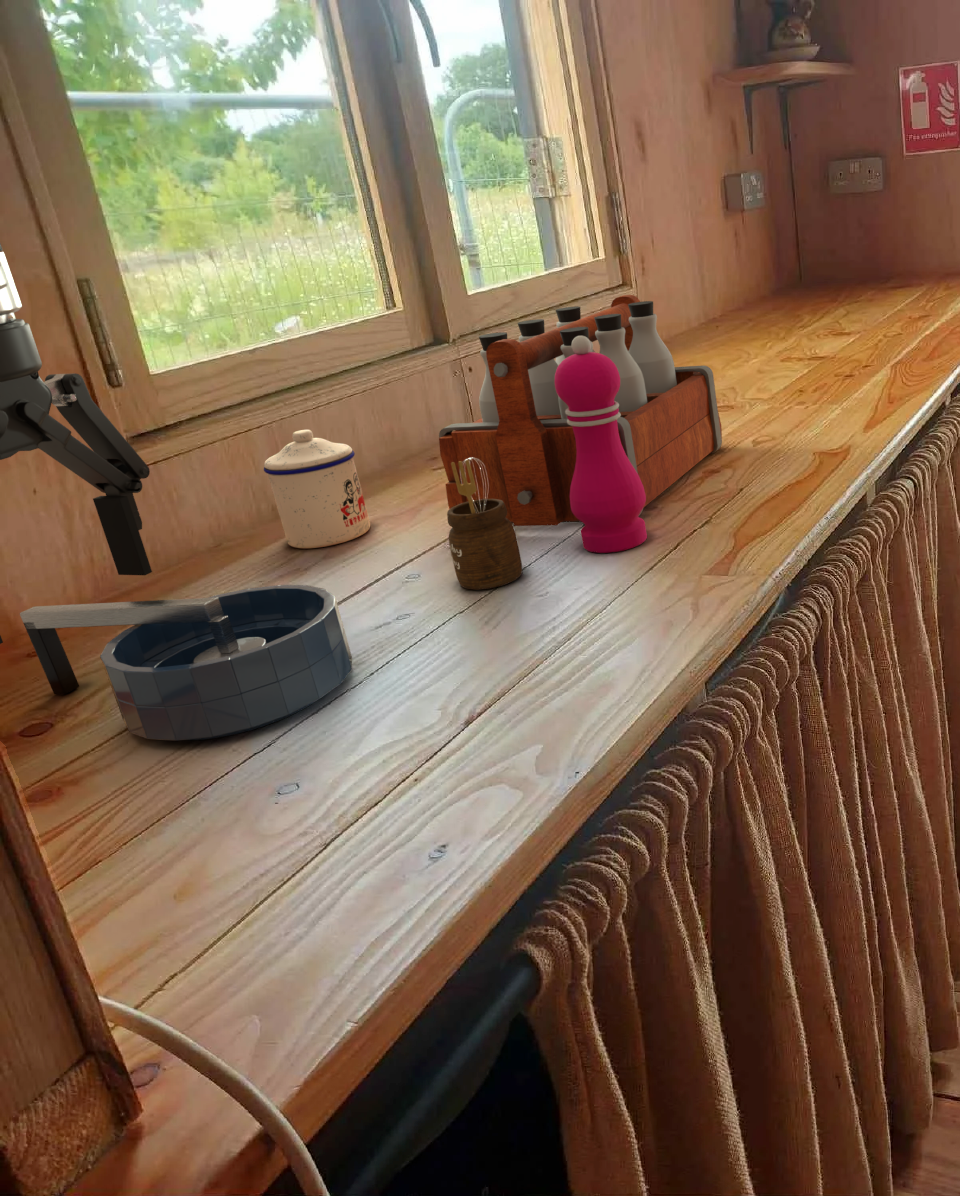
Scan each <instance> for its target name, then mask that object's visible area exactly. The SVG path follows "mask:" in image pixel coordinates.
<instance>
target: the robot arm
mask: <svg viewBox="0 0 960 1196" xmlns="http://www.w3.org/2000/svg"><path fill="white" fill-rule="evenodd" d="M22 307H23V305H22V301H21V298H20V296H19V292H18V290H17V287H16V283H15V281H14V278H13V275H12V271H11V269H10V265H9V264H8V259H7V258H6V254H5V251H3V247H2V245H1V243H0V461H3V460H4V459H9V458H12V457H13V456H14V455H16V454H17V453H19V452H31V451H34V450H37V449H39V450H40V451H42V452H43V453H45V454H46V455H48V456H49V457H50V458H52V459H53V460H55V461H56V462H58V463H59V464H61V465H62V466H63V467H65V468H66V469H68V470H69V471H70V472H72V473H73V474H75V475H76V476H78V477H79V478H81V479H82V480H84V481H85V482H86V483H88V484H89V485H90V486H92V487H94V488H95V489H96V490H98V491H99V492H101V493H103V494H105V495H99V496H96V497H94V498H92V501H93V503H94V507H95V509H96V513H97V515H98V518H99V522H100V524H101V527H102V530H103V533H104V536H105V539H106V542H107V545H108V548H109V551H110V554H111V557H112V560H113V563H114V565H115V568H116V573H117V574H118V576H147V575H150V574H152V573H153V570H152V567H151V564H150V561H149V558H148V555H147V552H146V549H145V545H144V543H143V540H142V537H141V534H140V531H141V530H143V521H142V518H141V515H140V512H139V508H138V505H137V503H136V498H135V496H134V494H138V493H141V491H142V489H143V482H142V480H143V479H147V478H148V477H149V476H150V472H151V470H150V467H149V465H147V463H146V462H145V461H144V460H143V458H142V457H141V456H140V455H139V453H137V451H136V450H135V449H134V447H132V446H131V444H130V443H129V442H128V441H127V439H126V438H125V437H124V436H123V434H122V433H121V432H120V431H119V430H118V429H117V428H116V426H115V425H114V424H113V423H112V421H111V420H110V419H109V418H108V417H107V416H106V414H105V413H104V412H103V411H102V410H101V409H100V407H99V406H98V404H96V403H95V401H94V400H93V399H92V396H91V394H90V392H89V389H88V387H87V385H86V383H85V380H84V378H83V377H82V375H81V374H80V373H77V372H76V373H74V372H73V373H51V374H47V375H46V376H45V378H44V381H43V380H42V378H41V377H40V375H39V371H40V370H41V369H42V368H43V367H42V366H43V362H42V359H41V356H40V353H39V351H38V348H37V345H36V341H35V338H34V336H33V333H32V329H31V326H30V324H29V322H25V320H24V319H23V318H16V315H15V313H16V312H19V311H20V310H21V308H22ZM52 405H53V406H54V407H56V409H57V411H58V412H59V413H60V415H61V416H62V417H63V418H64V419H65V420H66V422H67V423H68V424H69V425H70V426H71V427H72V428H73V430H74V431H75V432H76V433H77V434H78V435H79V436H80V438H81V439H82V440H83V441H84V442H85V443H86V444H87V445H86V444H85V443H83V442H81V441H80V440H79V439H77V438H76V437H75V436H73V435H72V431H71V429H69V428H67V427H66V426H65V425H64V424H62V423H61V422H60V421H58V420H56V419H55V418H54V417H52V416H51V415H50V411H51V406H52ZM3 643H4V641H3V639H2V636H1V635H0V645H1V644H3Z"/></svg>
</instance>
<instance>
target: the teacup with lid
mask: <svg viewBox="0 0 960 1196" xmlns="http://www.w3.org/2000/svg"><path fill="white" fill-rule="evenodd" d="M291 436H292V439H293V441H292V442H289V443H288V444H286V445H285V446H283V448H281V450H280V451H278V452H277V453H275V454H274V455H272V456H270V457H268V458H267V459H266V460H265V461H264V464H263V472H264V473H266V475H267V477H268V481H269V484H270V488H271V491H272V495H273V498H274V502H275V506H276V508H277V512H278V515H279V519H280V523H281V526H282V529H283V533H284V536H285V540H286V543H287V544H288V545H289V546H290V547H292V548H295V549H317V548H323V547H324V548H326V547H330V546H336V545H338V544H343V543H346V542H349V541H351V540H354V539H357V538H358V537H360V536H363V535H364V534H366V533H367V532H368V531H369V530H370V528H371V521H370V517H369V514H368V510H367V506H366V501H365V499H364V494H363V489H362V486H361V483H360V479H359V475H358V471H357V467H356V464H355V460H354V457H355V451H354V450H353V448H352V447H351V446H350V445H348V444H346V443H342V442H341V443H340V442H333V441H329V440H328V439H326V438H322V437H314V433H313V431H312V430H311V429H300V430H296V431H294V432H292V435H291Z"/></svg>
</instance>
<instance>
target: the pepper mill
mask: <svg viewBox="0 0 960 1196" xmlns="http://www.w3.org/2000/svg"><path fill="white" fill-rule="evenodd" d="M571 346H572V350H573V351H574V352H575V353H576V354H574V355H571V356H569V357H567V358H566V359H564V360H563V361H562V362H561V363H560V364H559V366H558V367H557V369H556V373H555V389H556V392H557V394H558V396H559V397H560V398H561V399H562V400H563V401H564V402H565V403H566V404H567V405H568V407H569V408H567V409H566V411H565V413H566V415H568V416H567V418H568V420H567V423H568V424H569V425H571V426H572V427H573V431H574V435H575V439H576V450H577V455H576V465H575V470H574V474H573V478H572V482H571V486H570V505H571V510H572V512H573V514H574V515H575V516H576V517H577V518H578V519H579V520H580V521H581V522H580V523H582V524H584V526H583V527H581V529H580V537H581V543H582V548H583V549H585V550H586V551H587V552H590V553H595V554H596V553H597V554H609V553H611V554H612V553H619V552H623V551H627V550H630V549H634V548H635V547H638V546H640V545H642V544H643V543H644V542H646V540H647V538H648V534H647V528H646V522H645V520H644V519H643V518H641V517H640V515H641V514H640V512H641V510H642V509H643V510H644V508H645V507H644V505H645V502H646V495H645V491H644V487H643V484H642V482H641V480H640V477H639V475H638V473H637V472H636V470H635V469H634V467H633V466H632V464H631V462H630V461H629V459H628V457H627V455H626V454H625V452H624V449H623V447H622V444H621V441H620V437H619V433H618V425H617V419H618V418H620V416H621V414H620V412H619V409H618V407H619V403H618V402H616V401H614V398H615V396H616V394H617V392H618V391H619V388H620V375H619V372H618V369H617V367H616V365H615V364H614V363H613V361H612V360H611V359H610V358H608V357H607V356H605V355H603V354H600V352H599V353H598V352H596V351H595V352H589V351H590V349H591V343H590V340H589V339H588V338H587V337H585V336H577V337H575V338H574V339H573V341H572V345H571ZM643 507H644V508H643ZM639 514H640V515H639ZM638 515H639V516H638Z"/></svg>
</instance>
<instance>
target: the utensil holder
mask: <svg viewBox="0 0 960 1196" xmlns="http://www.w3.org/2000/svg"><path fill="white" fill-rule="evenodd" d="M468 459H470V458H468ZM468 459H466V460H464V461H463V462H465V461H466V462H465V464H466V466H467V470H468V473H469V477H470V481H471V483H468V482H467V478H466V472H464V468H463V465H464V463H463V462H461V461H459V462H458V464H459V468H460V471H461V473H460V477H461V475H462V479H463V483H464V484H460V481H459V477H458V473H457V470H456V466H455V463H454V462H452V463H451V466H452V470H453V473H454V477H455V481H456V485H457V488H458V492H459V494H461V495H464V496H467V498H468V502H465V503H461V504H459V505H456V506H454V507H452V508H450V509H449V508H448V510H447V523H448V526H449V527H451V528H450V530H449V532H448V544H449V551H450V555H451V559H452V564H453V567H454V571H455V575H456V579H457V581H458V583H459V585H460V586H461V587H462V588H464V589H467V590H474V591H475V590H476V591H477V590H490V589H494V588H499V587H503V586H505V585H508V584H510V583H512V582H514V581H516V580H517V579H518V578H519V577H521V575H522V573H523V565H522V564H523V563H522V557H521V552H520V548H519V543H518V538H517V534H516V530H515V526H514V524H513V523H511V522H510V520H508V519H507V518H505V517H506V516H507V509H506V506H505V504H504V502H503V501H502V500H499V499H484V498H483V499H480V498H479V500H473V499H472V498H471V497H472V496H471V495H472V494H474V493H475V492H476V490H477V489H476V485H475V481H474V477H473V473H472V470H471V466H470V462H469V460H468ZM472 459H474V460H475V459H476V460H477V458H472ZM472 459H471V460H472ZM478 460H479V459H478ZM462 463H463V464H462ZM472 463H473V461H472ZM477 463H478V462H477ZM480 464H481V463H480ZM478 465H479V464H478ZM483 465H484V464H483ZM481 466H482V465H481ZM473 467H474V465H473ZM479 467H480V466H479ZM484 467H485V466H484ZM482 469H483V467H482ZM485 470H486V469H485ZM480 471H481V469H480ZM474 472H475V469H474ZM483 473H484V471H483ZM481 475H482V473H481ZM486 475H487V473H486ZM475 477H476V474H475ZM484 478H485V475H484ZM482 480H483V478H482ZM487 480H488V477H487ZM476 482H477V479H476ZM461 483H462V480H461ZM485 485H486V481H485ZM477 488H478V485H477ZM483 488H484V483H483ZM488 490H489V484H488ZM478 494H479V491H478ZM475 495H476V493H475ZM487 497H488V494H487ZM485 498H486V493H485ZM476 499H477V497H476ZM472 500H473V501H472Z"/></svg>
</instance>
